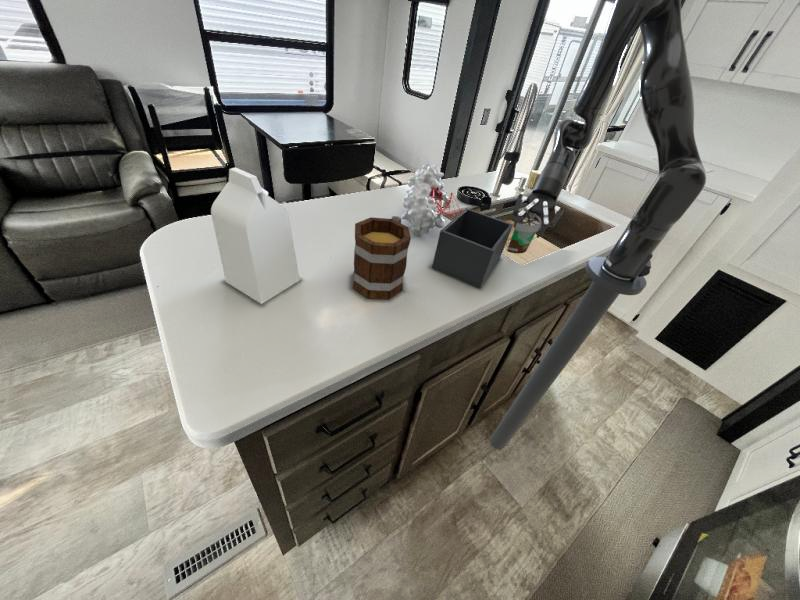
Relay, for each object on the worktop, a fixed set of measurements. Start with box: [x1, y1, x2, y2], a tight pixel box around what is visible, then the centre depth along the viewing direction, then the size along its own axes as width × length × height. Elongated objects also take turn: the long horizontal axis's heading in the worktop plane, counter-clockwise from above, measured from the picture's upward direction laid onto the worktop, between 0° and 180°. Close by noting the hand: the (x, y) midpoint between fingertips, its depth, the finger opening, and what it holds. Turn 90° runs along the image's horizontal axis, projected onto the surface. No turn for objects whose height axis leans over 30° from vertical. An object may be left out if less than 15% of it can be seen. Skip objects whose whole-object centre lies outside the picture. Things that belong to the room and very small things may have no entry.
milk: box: [210, 167, 301, 305], centre depth 69 cm, size 12×12×26 cm
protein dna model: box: [400, 162, 463, 236], centre depth 106 cm, size 20×18×25 cm
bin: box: [431, 207, 514, 289], centre depth 91 cm, size 15×19×12 cm
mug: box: [352, 215, 412, 300], centre depth 80 cm, size 20×14×15 cm
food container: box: [506, 212, 542, 255], centre depth 98 cm, size 12×6×10 cm, turn 148°
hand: (526, 232), depth 96 cm, fingers closed on food container, 6 cm apart
